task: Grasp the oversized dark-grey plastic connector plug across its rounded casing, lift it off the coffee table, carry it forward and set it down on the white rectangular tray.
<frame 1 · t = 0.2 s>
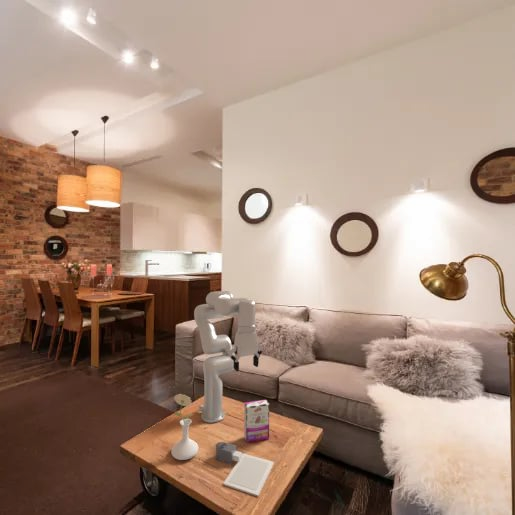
hand: (246, 368, 126), 36 cm above the table, tool pointing down, fingers open, 9 cm apart
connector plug: (227, 458, 121), on the table
white rectangular tray: (249, 473, 113), on the table
flower in vase: (183, 453, 124), on the table
candy bar box: (256, 438, 136), on the table
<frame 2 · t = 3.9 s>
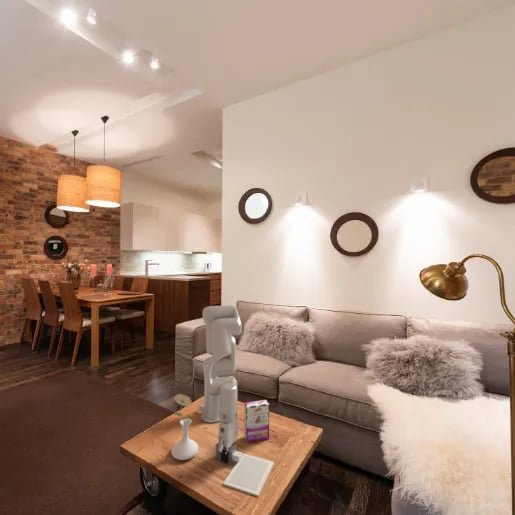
hand: (227, 457, 121), 1 cm above the table, tool pointing down, fingers closed on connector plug, 4 cm apart
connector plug: (227, 458, 121), on the table, touching gripper
everything else where it was.
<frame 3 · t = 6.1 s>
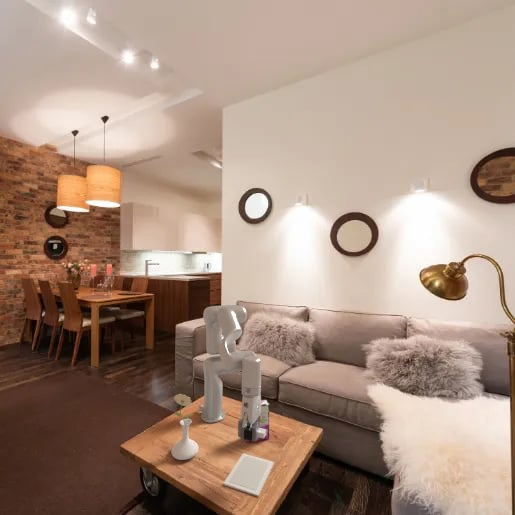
hand: (250, 435, 113), 15 cm above the table, tool pointing down, fingers closed on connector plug, 4 cm apart
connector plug: (250, 436, 113), point 14 cm above the table, touching gripper
everything else where it was.
when the fingers open (3 cm above the table, at t = 8.6 s): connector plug drops 1 cm, resting on white rectangular tray.
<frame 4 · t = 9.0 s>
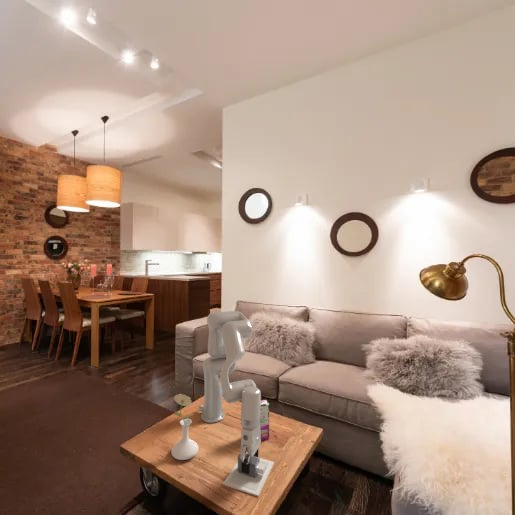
hand: (250, 464, 113), 3 cm above the table, tool pointing down, fingers open, 8 cm apart
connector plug: (250, 471, 113), point 1 cm above the table, touching white rectangular tray
everything else where it was.
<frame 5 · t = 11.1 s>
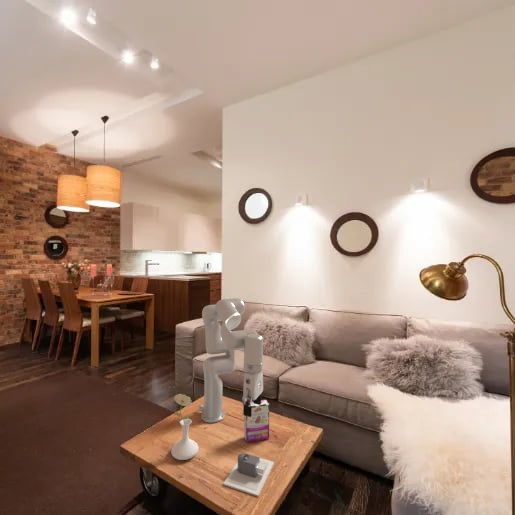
hand: (252, 409, 114), 25 cm above the table, tool pointing down, fingers open, 9 cm apart
nothing on the table moved.
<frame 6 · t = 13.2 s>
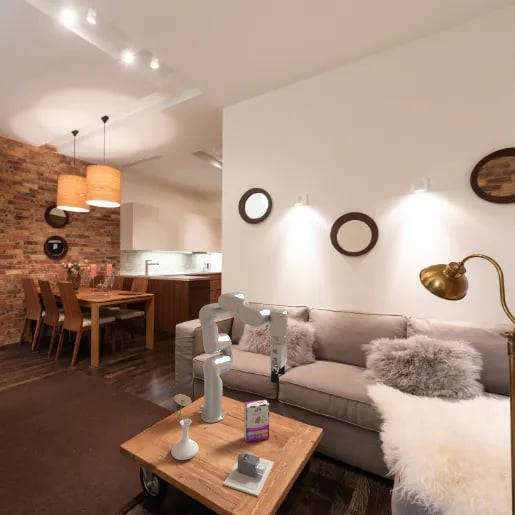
hand: (278, 378, 126), 32 cm above the table, tool pointing down, fingers open, 9 cm apart
nothing on the table moved.
at the end: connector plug inside the target area on the white rectangular tray (0.1 cm from its centre), point 0.7 cm above the white rectangular tray's base; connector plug moved 12.7 cm from its start; the gripper is holding nothing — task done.
